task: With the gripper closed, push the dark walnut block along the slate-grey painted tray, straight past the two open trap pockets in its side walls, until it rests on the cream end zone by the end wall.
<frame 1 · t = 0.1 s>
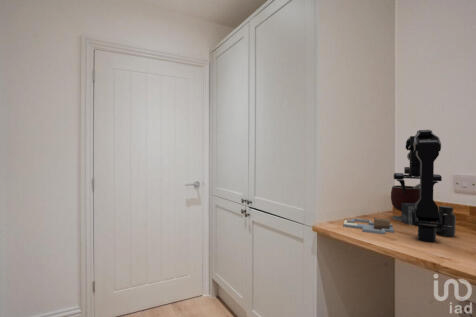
hand: (415, 194, 129), 15 cm above the counter, tool pointing down, fingers open, 9 cm apart
supplement bottle: (444, 235, 115), on the counter
trap tray: (369, 229, 122), on the counter
small box: (415, 225, 130), on the counter
walnut block: (381, 228, 120), point 1 cm above the counter, touching trap tray
mate gourd: (407, 220, 141), on the counter
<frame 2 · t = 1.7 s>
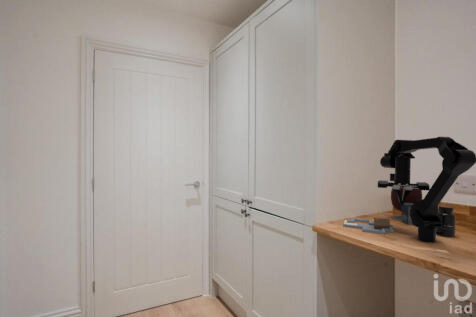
hand: (401, 205, 116), 12 cm above the counter, tool pointing down, fingers closed
nothing on the counter moved.
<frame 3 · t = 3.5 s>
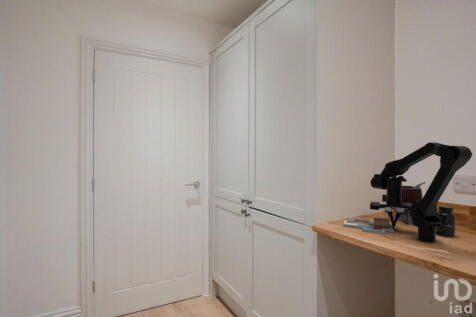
hand: (393, 226, 118), 2 cm above the counter, tool pointing down, fingers closed
walnut block: (381, 228, 120), point 1 cm above the counter, touching gripper, trap tray
everything else where it was.
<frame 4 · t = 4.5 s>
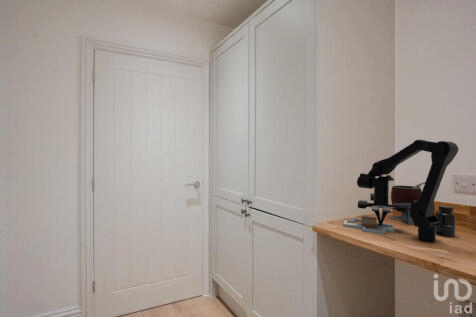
hand: (380, 225, 120), 2 cm above the counter, tool pointing down, fingers closed
walnut block: (368, 226, 122), point 1 cm above the counter, touching gripper
everything else where it was.
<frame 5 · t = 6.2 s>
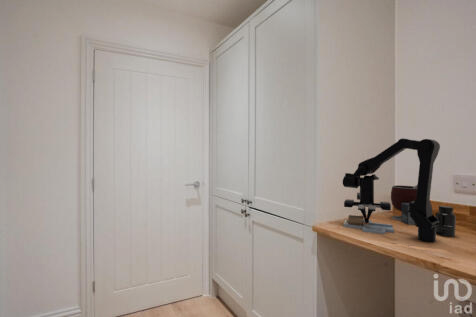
hand: (366, 223, 123), 2 cm above the counter, tool pointing down, fingers closed
walnut block: (355, 225, 125), point 1 cm above the counter, touching gripper, trap tray
everything else where it was.
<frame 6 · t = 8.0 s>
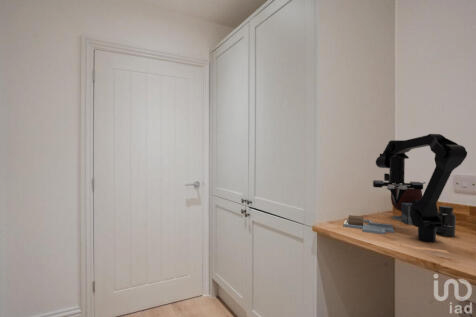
hand: (396, 204, 120), 12 cm above the counter, tool pointing down, fingers closed
walnut block: (355, 225, 125), point 1 cm above the counter, touching trap tray
everything else where it was.
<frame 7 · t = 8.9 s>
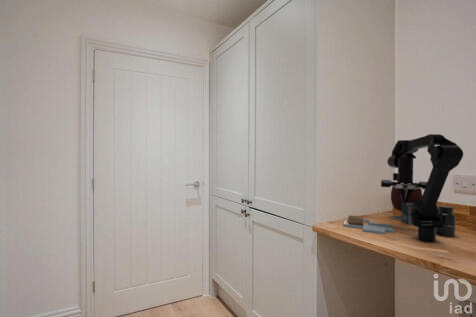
hand: (404, 204, 119), 12 cm above the counter, tool pointing down, fingers closed
nothing on the counter moved.
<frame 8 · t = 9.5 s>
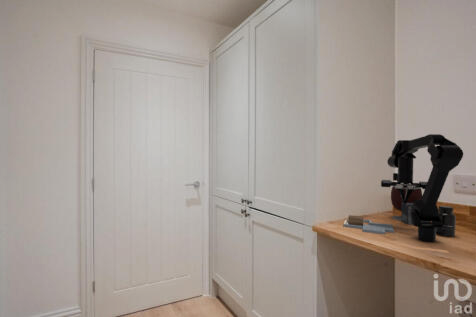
hand: (404, 204, 119), 12 cm above the counter, tool pointing down, fingers closed
nothing on the counter moved.
at the end: walnut block 1.3 cm from the target spot on the trap tray, point 1.0 cm above the trap tray's base; walnut block tilted 1°; walnut block moved 10.5 cm from its start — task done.
